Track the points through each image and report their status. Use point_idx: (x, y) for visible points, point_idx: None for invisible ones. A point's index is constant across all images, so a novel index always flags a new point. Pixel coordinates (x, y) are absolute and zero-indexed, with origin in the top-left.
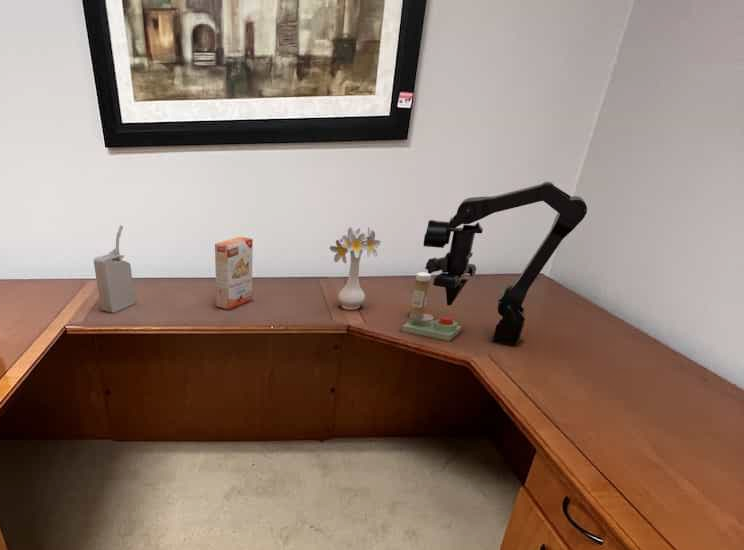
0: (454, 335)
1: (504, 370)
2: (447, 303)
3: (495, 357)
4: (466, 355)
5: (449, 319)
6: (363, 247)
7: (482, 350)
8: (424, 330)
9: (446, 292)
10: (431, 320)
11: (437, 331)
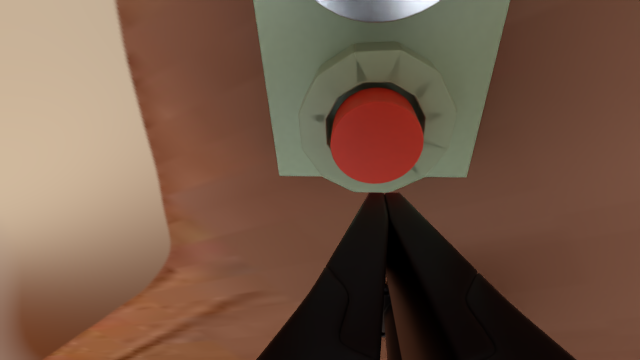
0: None
1: (183, 332)
2: (366, 203)
3: (249, 308)
4: (194, 250)
5: (352, 170)
6: None
7: (278, 275)
8: (256, 14)
9: (313, 294)
10: (359, 19)
11: (291, 99)
